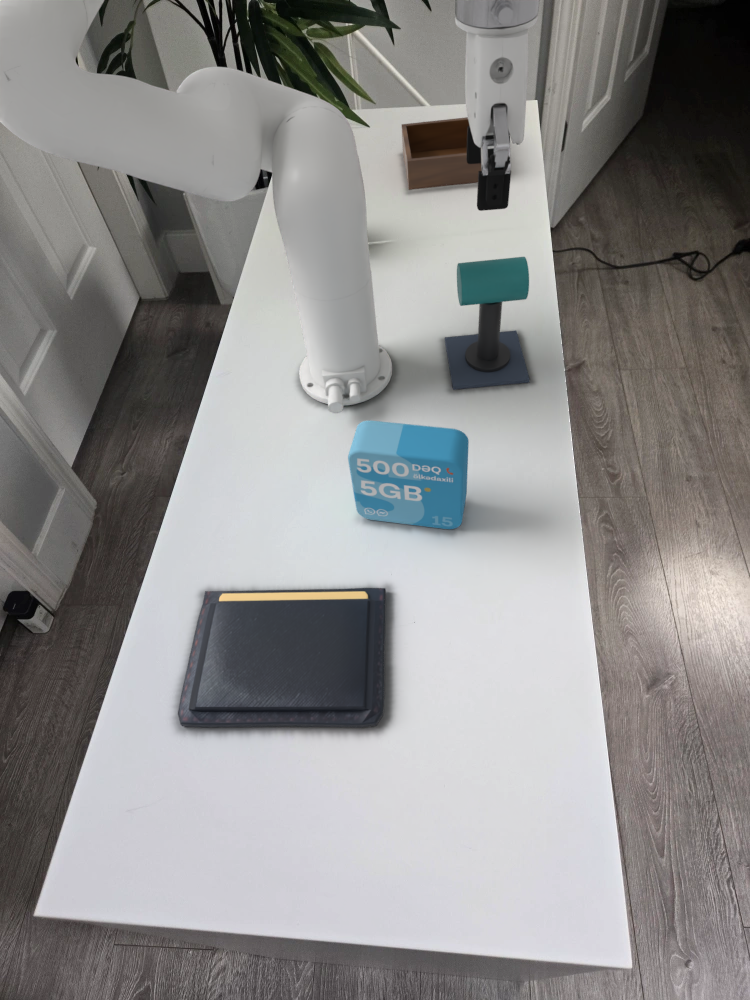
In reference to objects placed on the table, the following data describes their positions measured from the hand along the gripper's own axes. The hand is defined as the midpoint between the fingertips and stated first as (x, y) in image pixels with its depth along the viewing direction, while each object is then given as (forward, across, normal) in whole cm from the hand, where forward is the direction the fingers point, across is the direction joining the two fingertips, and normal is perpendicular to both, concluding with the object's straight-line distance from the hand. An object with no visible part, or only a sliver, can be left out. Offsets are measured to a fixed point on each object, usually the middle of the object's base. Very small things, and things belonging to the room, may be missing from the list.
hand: (486, 184), depth 77 cm
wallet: (+25, -42, +24) cm, 55 cm away
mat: (+24, -1, -1) cm, 25 cm away
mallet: (+24, -1, -2) cm, 24 cm away
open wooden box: (+24, +51, 0) cm, 57 cm away
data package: (+25, -25, +10) cm, 37 cm away
